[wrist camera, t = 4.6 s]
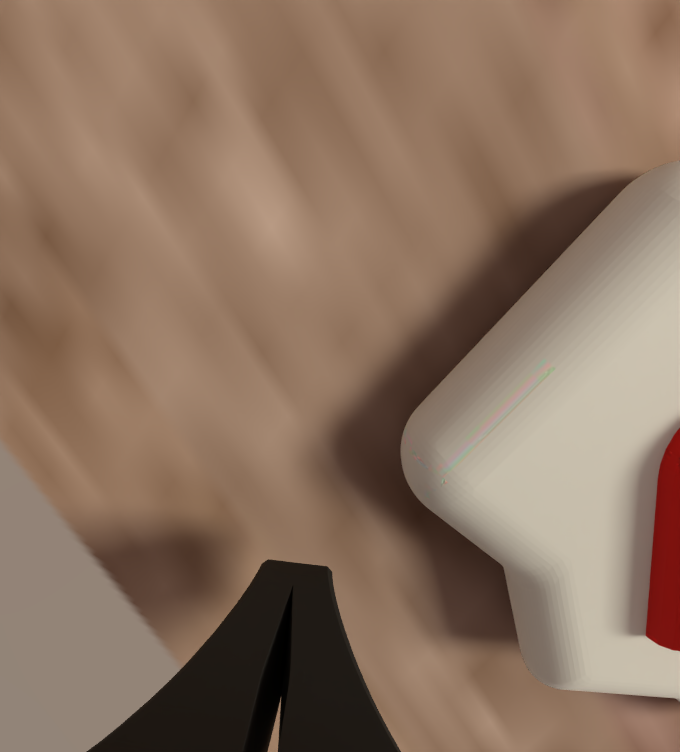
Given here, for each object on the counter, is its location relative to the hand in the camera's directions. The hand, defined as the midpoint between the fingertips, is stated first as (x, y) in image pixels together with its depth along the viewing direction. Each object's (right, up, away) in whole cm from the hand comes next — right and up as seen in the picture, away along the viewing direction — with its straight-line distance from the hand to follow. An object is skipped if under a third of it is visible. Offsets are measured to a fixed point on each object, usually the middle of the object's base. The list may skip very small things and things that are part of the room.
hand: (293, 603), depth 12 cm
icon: (+9, +2, +2) cm, 9 cm away
